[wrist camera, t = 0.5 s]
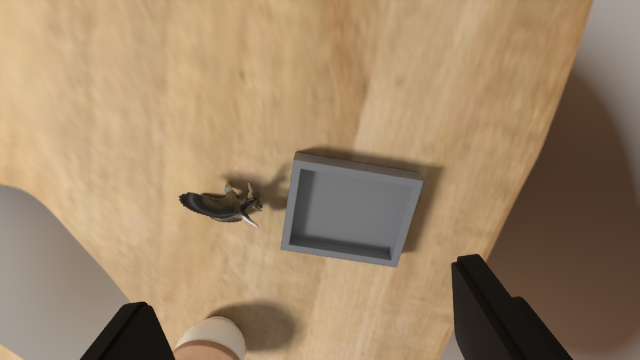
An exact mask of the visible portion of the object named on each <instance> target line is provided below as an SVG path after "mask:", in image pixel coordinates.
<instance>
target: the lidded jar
mask: <svg viewBox="0 0 640 360" xmlns="http://www.w3.org/2000/svg"><path fill="white" fill-rule="evenodd" d="M173 354H174V357H175V359H176V360H245V356H246V346H245V340H244V337H243V335H242V333H241V331H240V330H239V329H238V327H237V326H236V324H235V323H234V322H233V321H232V320H230V319H228V318H226V317H222V316H213V317H210V318H207V319H204V320H201V321H199V322H197V323H195V324H194V325H193V326H191V327H190V328H189V329H188V330H187V331H186V332H185V333H184V335H183V336H182V338H181V339H180V340H179V342H178V344H177V345H176V347H175V349H174V351H173Z"/></svg>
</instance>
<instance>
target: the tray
mask: <svg viewBox="0 0 640 360" xmlns="http://www.w3.org/2000/svg"><path fill="white" fill-rule="evenodd" d="M423 182H424V181H423V179H422V178H421V176H420V175H419V173H418V172H414V171H408V170H402V169H396V168H390V167H384V166H378V165H372V164H366V163H360V162H354V161H348V160H342V159H336V158H330V157H324V156H318V155H312V154H306V153H300V152H296V153H295V156H294V160H293V167H292V174H291V181H290V187H289V194H288V201H287V208H286V215H285V222H284V229H283V236H282V242H281V249H280V250H285V251H292V252H298V253H305V254H312V255H318V256H325V257H331V258H338V259H344V260H351V261H357V262H364V263H370V264H377V265H383V266H390V267H396V268H397V265H398V262H399V259H400V255H401V252H402V249H403V246H404V243H405V240H406V236H407V233H408V230H409V227H410V224H411V220H412V217H413V214H414V211H415V208H416V204H417V201H418V198H419V195H420V192H421V188H422V185H423Z"/></svg>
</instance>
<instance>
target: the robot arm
mask: <svg viewBox="0 0 640 360" xmlns="http://www.w3.org/2000/svg"><path fill="white" fill-rule="evenodd" d="M451 269H452V289H453V308H454V328H455V336H456V340H457V343H458V346H459V348H460V350H461V352H462V354H463V357H464V359H465V360H573V359H572V358H571V357H570V355H569V354H568V353H567V352H566V350H565V349H564V348H563V347H562V345H561V344H560V343H559V342H558V340H557V339H556V338H555V337H554V335H553V334H552V333H551V332H550V331H549V329H548V328H547V327H546V325H545V324H544V323H543V322H542V320H541V319H540V318H539V317H538V315H537V314H536V313H535V312H534V310H533V309H532V308H531V307H530V305H529V304H528V303H527V302H526V301H525V300H524V299H523V298H522V297H519V296H518V297H511V296H510V295H509V293H508V292H507V291H506V289H505V288H504V287H503V285H502V284H501V283H500V281H499V280H498V279H497V277H496V276H495V275H494V274H493V272H492V271H491V270H490V268H489V267H488V266H487V264H486V263H485V262H484V260H483V259H482V258H481V256H480V255H479V254H473V255H466V256H459V257H458V258H457V262H453V263H452V264H451ZM80 360H176V359H175V357H174V354H173V352H172V350H171V348H170V345H169V343H168V341H167V339H166V336H165V334H164V332H163V330H162V327H161V325H160V323H159V321H158V318H157V316H156V314H155V312H154V309H153V308H152V306H149V305H148V304H147V303H146V302H135V303H129V304H125V305H123V306H122V307H121V308H120V309H119V311H118V312H117V313H116V314H115V316H114V317H113V318H112V320H111V321H110V322H109V323H108V324H107V326H106V327H105V328H104V330H103V331H102V332H101V333H100V335H99V336H98V337H97V338H96V340H95V341H94V342H93V344H92V345H91V346H90V347H89V349H88V350H87V351H86V352H85V354H84V355H83V356H82V357H81V359H80Z"/></svg>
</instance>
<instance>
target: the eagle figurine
mask: <svg viewBox="0 0 640 360" xmlns="http://www.w3.org/2000/svg"><path fill="white" fill-rule="evenodd" d="M248 187H249V190H250V191H249V194H248V196H246V197H245V198H244V199H239V197H238V195H237V194H236V192H235V191H234V190H233V189H232V188H231V186H230V183H229V181H227V182H226V185H225V192H226V197H224V198H213V197H210V196H204V195H202V194H200V195H199V194H196V193H190V192H188V193H187V194H182V195H181V196H179V198H180V199H179V201H181V204H183V206H185V207H187V208H188V209H190V210H191V211H193V212H197V213H199V214H202V215H206V216H210V218H212V219H215V220H216V221H219V222H238V221H241V220H242V219H243V220H245V221H247V222H249V223H250V224H252V225H254V226H256V227H257V228H259V227H258V225H257V224H256V223H255V222H253V221H252V220H251V219H250V218H249V216H248V215H247V214H246V212H245V211H244V210H245V209H246V208H247V206H248V205H249V204H251V203H252V202H253V209H256V210H257V211H261V209H259V208H258V207H257V204H258V206H259V207H260V208H262V205H261V204H260V201H259V199H258V197H260V193H259V194H258V193H256V192H255V190H254V188H253V186H252V184H251V183H250V182H249V183H248Z"/></svg>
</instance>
